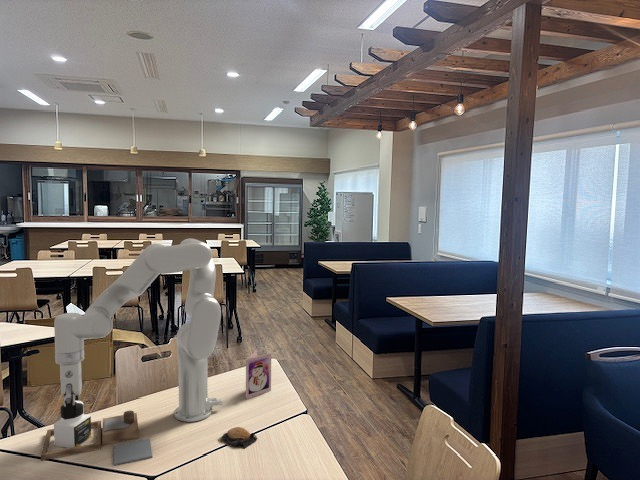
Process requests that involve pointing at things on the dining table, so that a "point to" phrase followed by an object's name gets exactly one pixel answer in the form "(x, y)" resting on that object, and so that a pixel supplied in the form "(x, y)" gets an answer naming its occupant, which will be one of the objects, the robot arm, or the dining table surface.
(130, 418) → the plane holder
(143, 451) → the slate mat
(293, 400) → the dining table surface
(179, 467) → the dining table surface
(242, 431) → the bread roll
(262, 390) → the greeting card
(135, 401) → the dining table surface
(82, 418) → the medicine bottle
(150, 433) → the dining table surface
